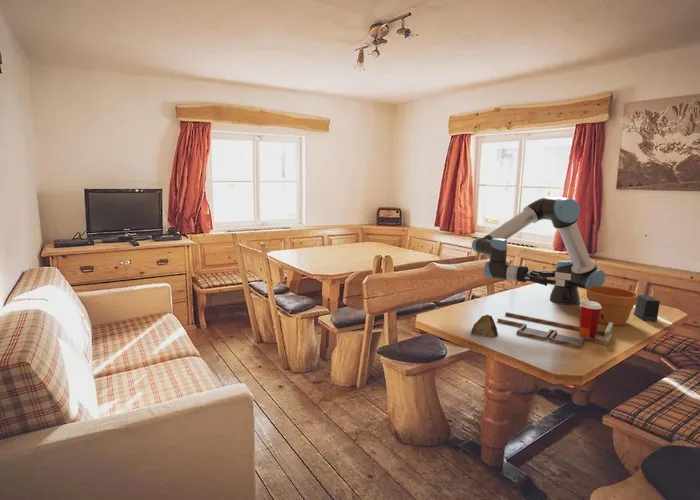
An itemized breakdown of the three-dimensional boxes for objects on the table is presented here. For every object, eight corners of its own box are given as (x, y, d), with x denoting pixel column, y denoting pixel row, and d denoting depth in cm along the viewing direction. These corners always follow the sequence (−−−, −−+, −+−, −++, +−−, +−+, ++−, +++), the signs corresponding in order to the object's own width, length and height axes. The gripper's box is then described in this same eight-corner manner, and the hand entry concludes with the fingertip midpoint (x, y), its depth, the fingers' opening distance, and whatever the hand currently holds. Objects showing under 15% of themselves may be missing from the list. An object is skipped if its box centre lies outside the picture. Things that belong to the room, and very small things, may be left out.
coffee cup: (595, 334, 187) (599, 301, 184) (600, 340, 179) (604, 306, 177) (574, 331, 190) (578, 299, 187) (578, 338, 182) (581, 304, 179)
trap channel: (489, 328, 193) (490, 315, 192) (506, 314, 212) (507, 303, 211) (604, 353, 166) (606, 339, 165) (611, 335, 185) (613, 322, 184)
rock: (464, 329, 184) (484, 333, 177) (470, 311, 187) (490, 314, 179) (477, 339, 190) (497, 343, 182) (483, 322, 193) (502, 325, 185)
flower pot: (591, 310, 220) (594, 283, 217) (638, 320, 205) (642, 291, 203) (577, 320, 205) (580, 290, 203) (627, 331, 191) (631, 299, 188)
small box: (658, 321, 204) (661, 301, 202) (643, 320, 205) (645, 300, 204) (647, 315, 214) (650, 295, 213) (633, 314, 216) (635, 294, 214)
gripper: (524, 276, 209) (572, 282, 197) (509, 286, 190) (560, 294, 177) (525, 261, 208) (573, 266, 195) (510, 270, 188) (562, 277, 176)
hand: (567, 280), depth 186 cm, fingers open, 13 cm apart
